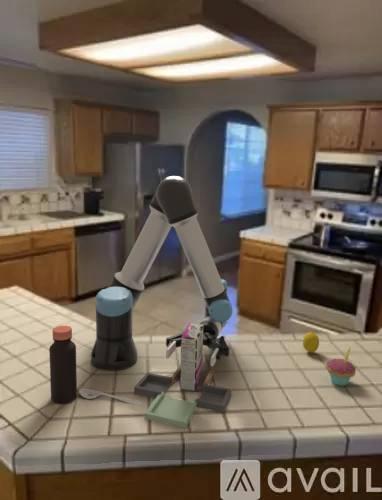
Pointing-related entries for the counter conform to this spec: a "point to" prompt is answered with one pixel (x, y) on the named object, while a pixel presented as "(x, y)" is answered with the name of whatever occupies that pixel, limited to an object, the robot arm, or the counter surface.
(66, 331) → the bottle
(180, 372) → the lane rails
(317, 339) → the lemon
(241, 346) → the counter surface
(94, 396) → the spoon
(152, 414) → the green square tray
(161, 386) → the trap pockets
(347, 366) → the cupcake
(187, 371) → the candy bar box
